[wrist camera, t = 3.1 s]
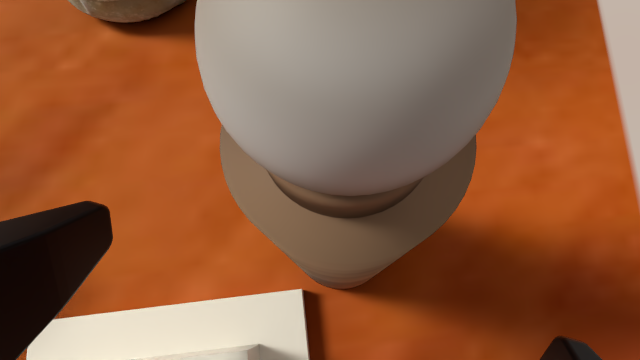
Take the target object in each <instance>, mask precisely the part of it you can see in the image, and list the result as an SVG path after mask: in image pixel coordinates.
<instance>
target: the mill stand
mask: <svg viewBox="0 0 640 360" xmlns="http://www.w3.org/2000/svg"><path fill="white" fill-rule="evenodd" d="M26 360H310V354H309V344H308V334H307V324H306V314H305V304H304V293H303V289H297V290H289V291H281V292H273V293H265V294H257V295H248V296H240V297H232V298H224V299H216V300H208V301H200V302H192V303H184V304H175V305H167V306H159V307H151V308H143V309H135V310H127V311H119V312H110V313H102V314H94V315H86V316H78V317H70V318H62V319H54V320H52V321H51V322H50V323H49V324H48V326H47V327H46V328H45V329H44V330H43V331H42V332H41V333H40V334H39V335H38V336H37V337H36V339H35V340H34V341H33V342H32V343H31V344H30V345H29V346H28V349H27V357H26Z"/></svg>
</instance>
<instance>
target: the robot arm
mask: <svg viewBox="0 0 640 360" xmlns="http://www.w3.org/2000/svg"><path fill="white" fill-rule="evenodd" d="M112 239H113V234H112V226H111V218H110V211H109V209H108V208H107V206H105V205H103V204H99V203H96V202H92V201H83V202H79V203H75V204H71V205H67V206H63V207H59V208H55V209H51V210H47V211H42V212H38V213H34V214H30V215H26V216H22V217H18V218H14V219H10V220H6V221H2V222H0V360H16V359H17V358H18V357H19V356H20V355H21V354H22V353H23V352H24V350H25V349H26V348H27V347H28V346H29V345H30V344H31V343H32V342H33V341H34V340H35V339H36V337H37V336H38V335H39V334H40V333H41V332H42V331H43V330H44V329H45V328H46V327H47V326H48V324H49V323H50V322H51V321H52V320H53V319H54V318H55V317H56V316H57V314H58V313H59V312H60V311H61V310H62V309H63V308H64V306H65V305H66V304H67V303H68V301H69V300H70V299H71V298H72V296H73V295H74V294H75V292H76V291H77V290H78V288H79V287H80V286H81V284H82V283H83V282H84V281H85V279H86V278H87V277H88V275H89V274H90V273H91V271H92V270H93V269H94V267H95V266H96V265H97V264H98V262H99V261H100V260H101V258H102V257H103V256H104V254H105V253H106V252H107V250H108V249H109V247H110V246H111V243H112ZM540 360H602V359H601V358H600V357H599V356H598V355H597V354H596V353H595V352H594V351H593V350H592V349H591V348H590V347H589V346H588V345H587V344H586V343H584V342H582V341H579V340H576V339H572V338H569V337H565V336H558V337H556V338H555V339H554V340H553V341H552V343H551V344H550V345H549V347H548V348H547V350H546V351H545V353H544V354H543V356H542V357H541V359H540Z"/></svg>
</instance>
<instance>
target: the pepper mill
mask: <svg viewBox="0 0 640 360" xmlns="http://www.w3.org/2000/svg"><path fill="white" fill-rule="evenodd" d="M516 23H517V17H516V5H515V0H197V4H196V12H195V45H196V56H197V61H198V65H199V70H200V74H201V77H202V81H203V85H204V89H205V91H206V93H207V96H208V98H209V100H210V103H211V105H212V107H213V109H214V111H215V113H216V115H217V117H218V118H219V120H220V122H221V123H222V127H221V133H220V155H221V164H222V168H223V172H224V176H225V180H226V182H227V185H228V187H229V189H230V192H231V194H232V196H233V198H234V199H235V201H236V203H237V204H238V206H239V208H240V209H241V210H242V212H243V213H244V214H245V215H246V216H247V218H248V219H249V220H250V221H251V222H252V223H253V224H254V225H255V226H256V227H257V228H258V229H259V230H260V231H261V232H262V233H263V234H264V235H266V236H267V237H268V238H269V239H270V240H271V241H272V242H273V243H274V244H275V245H276V246H277V247H278V248H280V249H281V250H282V251H283V252H284V253H285V254H286V255H287V256H288V257H289V258H290V259H291V260H292V261H293V262H295V263H296V264H297V265H298V266H299V267H300V268H301V269H302V270H303V271H304V272H305V273H306V274H307V275H309V276H310V277H311V278H312V279H313V280H315V281H316V282H318V283H319V284H321V285H324V286H326V287H330V288H334V289H348V288H354V287H356V286H359V285H361V284H363V283H365V282H367V281H368V280H370V279H371V278H372V277H374V276H375V275H377V274H378V273H379V272H381V271H382V270H383V269H385V268H386V267H388V266H389V265H390V264H392V263H393V262H395V261H396V260H397V259H399V258H400V257H401V256H403V255H404V254H406V253H407V252H408V251H410V250H411V249H413V248H414V247H415V246H417V245H418V244H419V243H421V242H422V241H424V240H425V239H426V238H428V237H429V236H430V235H432V234H433V233H434V232H435V231H436V230H437V229H439V228H440V227H441V226H442V225H443V224H444V223H445V222H446V221H447V220H448V218H449V217H450V216H451V215H452V213H453V212H454V211H455V210H456V208H457V207H458V205H459V203H460V202H461V200H462V198H463V197H464V195H465V193H466V190H467V188H468V185H469V183H470V181H471V177H472V173H473V169H474V165H475V158H476V133H477V132H478V131H479V130H480V128H481V127H482V125H483V124H484V122H485V121H486V119H487V117H488V116H489V114H490V113H491V111H492V109H493V108H494V106H495V104H496V103H497V101H498V98H499V96H500V94H501V91H502V89H503V86H504V84H505V81H506V78H507V76H508V73H509V69H510V65H511V61H512V57H513V52H514V45H515V37H516Z"/></svg>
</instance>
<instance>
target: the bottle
mask: <svg viewBox="0 0 640 360" xmlns="http://www.w3.org/2000/svg"><path fill="white" fill-rule="evenodd" d="M68 1H69V2H70V3H71V4H73V5H74V6H75V7H76V8H77V9H79V10H81V11H82V12H84V13H86V14H88V15H91V16H93V17H96V18H99V19H103V20H106V21H112V22H128V24H129V23H130V22H132V23H133V22H140V21H142V20H150V18H153V17H158V16H159V15H160V14H162V13H165V12H167V11H169V10H171V9H172V8H174V7H175V6H177V5H180V4H182V3H183V2H184V1H186V0H68Z"/></svg>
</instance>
